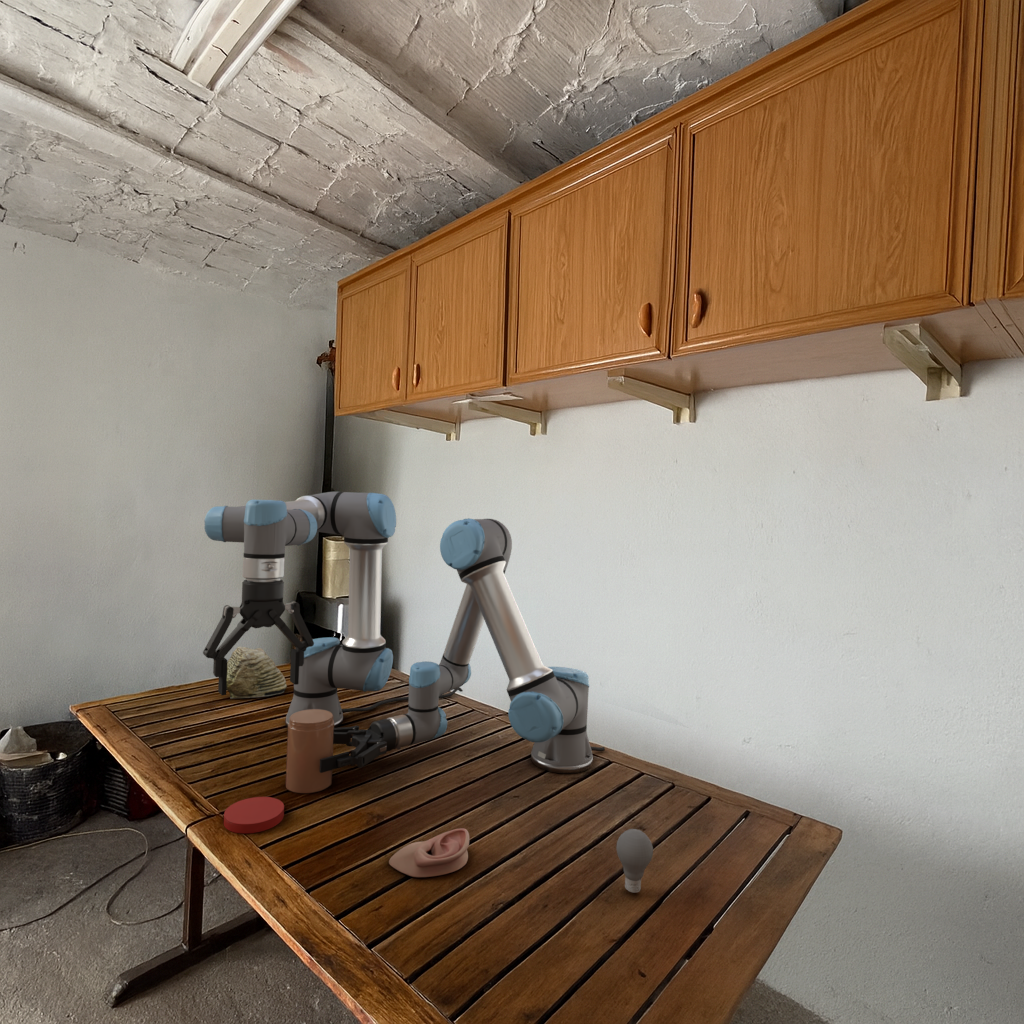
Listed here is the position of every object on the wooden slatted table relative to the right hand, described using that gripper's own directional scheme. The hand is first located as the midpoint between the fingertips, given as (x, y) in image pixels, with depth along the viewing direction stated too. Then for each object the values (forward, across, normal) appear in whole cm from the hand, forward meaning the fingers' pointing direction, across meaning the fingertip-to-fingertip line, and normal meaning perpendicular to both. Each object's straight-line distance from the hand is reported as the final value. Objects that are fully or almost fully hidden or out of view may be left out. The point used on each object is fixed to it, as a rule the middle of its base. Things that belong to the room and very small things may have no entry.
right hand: (305, 755), depth 139 cm
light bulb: (-25, -69, -6) cm, 74 cm away
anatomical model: (-4, -41, -6) cm, 42 cm away
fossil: (-15, +67, -6) cm, 69 cm away
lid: (+14, -8, -5) cm, 17 cm away
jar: (-1, 0, -6) cm, 6 cm away
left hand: (+14, -8, +19) cm, 25 cm away
